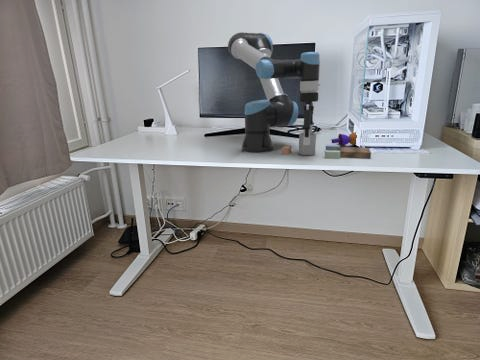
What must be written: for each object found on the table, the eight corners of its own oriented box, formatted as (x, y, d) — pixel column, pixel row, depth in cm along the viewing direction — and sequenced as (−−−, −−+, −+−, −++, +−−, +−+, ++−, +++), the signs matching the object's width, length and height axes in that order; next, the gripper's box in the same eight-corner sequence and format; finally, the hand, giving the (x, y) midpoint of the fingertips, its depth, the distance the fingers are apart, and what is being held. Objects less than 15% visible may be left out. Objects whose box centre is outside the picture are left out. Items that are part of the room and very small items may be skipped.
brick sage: (325, 158, 131) (325, 151, 130) (324, 157, 133) (325, 150, 133) (340, 159, 129) (340, 152, 128) (339, 157, 132) (339, 150, 131)
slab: (339, 157, 131) (340, 151, 131) (339, 152, 141) (339, 147, 140) (370, 158, 128) (371, 152, 127) (368, 153, 137) (368, 147, 137)
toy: (333, 153, 150) (366, 148, 148) (332, 137, 148) (365, 132, 145) (330, 147, 161) (360, 142, 158) (328, 132, 158) (359, 127, 155)
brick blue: (325, 152, 142) (325, 146, 141) (326, 151, 145) (326, 144, 144) (339, 153, 140) (339, 146, 139) (339, 152, 143) (340, 145, 142)
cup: (296, 154, 137) (297, 134, 135) (301, 151, 146) (302, 132, 144) (313, 156, 134) (314, 135, 132) (317, 152, 143) (318, 132, 141)
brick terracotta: (288, 155, 139) (288, 148, 138) (281, 154, 140) (282, 148, 139) (291, 152, 144) (291, 145, 144) (284, 152, 146) (285, 145, 145)
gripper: (316, 92, 119) (315, 147, 125) (319, 91, 142) (318, 137, 148) (296, 93, 121) (296, 147, 127) (302, 91, 144) (301, 137, 150)
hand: (307, 142), depth 137 cm, fingers open, 13 cm apart
